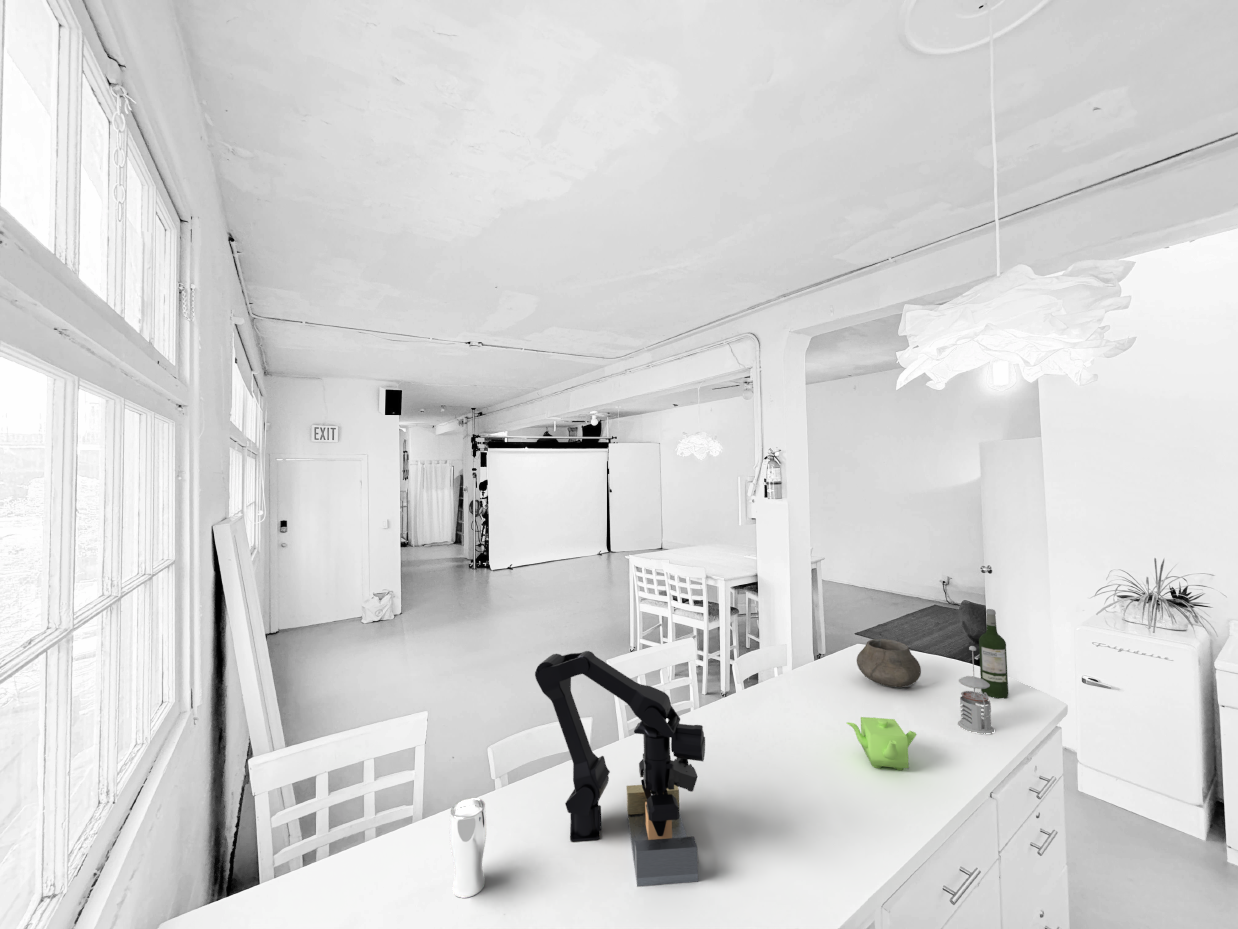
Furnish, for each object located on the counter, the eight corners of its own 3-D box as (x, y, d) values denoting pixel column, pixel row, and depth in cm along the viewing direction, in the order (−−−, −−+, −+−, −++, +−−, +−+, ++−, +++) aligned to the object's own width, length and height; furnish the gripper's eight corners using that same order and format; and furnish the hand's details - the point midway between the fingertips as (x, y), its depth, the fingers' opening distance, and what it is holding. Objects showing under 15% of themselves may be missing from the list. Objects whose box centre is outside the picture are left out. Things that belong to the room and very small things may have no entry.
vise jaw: (628, 814, 119) (627, 793, 119) (626, 806, 122) (626, 785, 122) (679, 811, 120) (678, 790, 120) (677, 803, 123) (676, 782, 123)
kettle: (896, 783, 132) (894, 738, 133) (845, 760, 144) (843, 719, 144) (924, 764, 141) (922, 722, 141) (873, 743, 152) (871, 705, 153)
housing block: (648, 841, 109) (648, 815, 109) (645, 825, 114) (645, 800, 114) (672, 839, 109) (671, 813, 110) (668, 823, 114) (667, 799, 115)
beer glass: (490, 871, 105) (489, 796, 105) (482, 899, 98) (481, 818, 98) (455, 873, 105) (455, 797, 105) (445, 901, 98) (444, 819, 98)
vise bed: (637, 886, 100) (636, 851, 100) (627, 814, 122) (626, 785, 122) (698, 881, 101) (697, 847, 101) (677, 810, 123) (676, 782, 123)
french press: (983, 720, 165) (979, 641, 166) (1006, 738, 154) (1002, 653, 155) (951, 719, 166) (947, 641, 167) (971, 737, 155) (968, 652, 156)
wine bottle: (986, 697, 182) (982, 612, 183) (977, 689, 190) (974, 606, 191) (1012, 700, 180) (1008, 613, 181) (1003, 691, 188) (999, 607, 189)
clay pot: (922, 679, 200) (921, 640, 200) (920, 699, 182) (918, 656, 182) (861, 669, 211) (859, 633, 212) (853, 687, 193) (851, 647, 194)
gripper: (703, 775, 104) (705, 855, 103) (685, 731, 122) (686, 798, 122) (648, 779, 103) (650, 859, 102) (638, 734, 121) (639, 801, 121)
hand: (658, 827), depth 112 cm, fingers closed on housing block, 5 cm apart
